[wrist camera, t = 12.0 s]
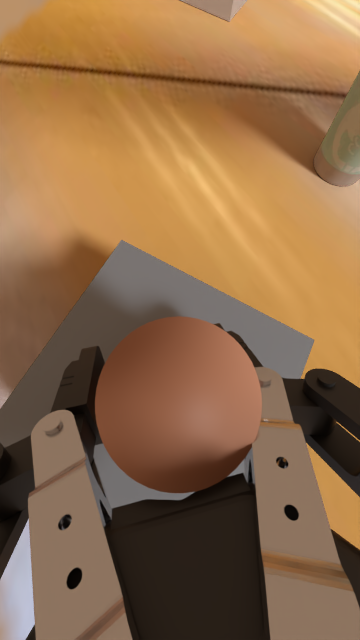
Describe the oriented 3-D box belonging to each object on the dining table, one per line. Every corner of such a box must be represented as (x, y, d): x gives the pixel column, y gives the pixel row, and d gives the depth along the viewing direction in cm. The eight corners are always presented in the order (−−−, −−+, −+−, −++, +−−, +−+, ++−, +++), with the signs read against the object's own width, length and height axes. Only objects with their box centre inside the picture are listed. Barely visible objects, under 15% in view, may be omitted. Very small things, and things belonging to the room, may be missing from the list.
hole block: (133, 283, 22) (121, 239, 16) (267, 354, 22) (314, 339, 15) (41, 425, 19) (-27, 446, 12) (197, 518, 18) (219, 598, 11)
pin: (154, 354, 20) (149, 289, 6) (196, 378, 20) (285, 362, 6) (129, 399, 19) (58, 436, 5) (173, 424, 18) (220, 530, 5)
